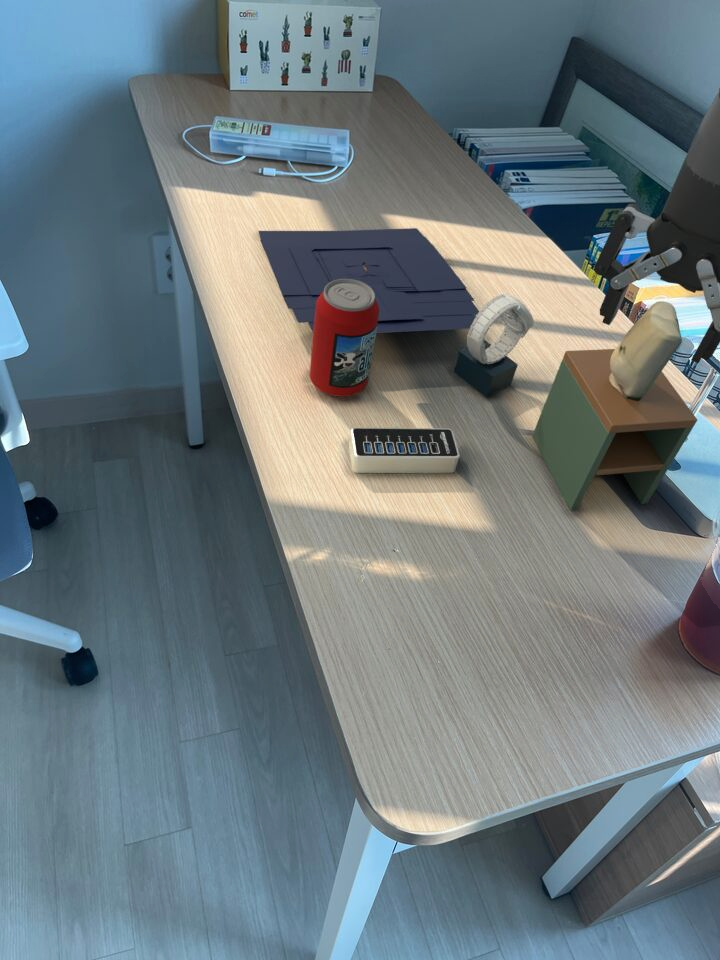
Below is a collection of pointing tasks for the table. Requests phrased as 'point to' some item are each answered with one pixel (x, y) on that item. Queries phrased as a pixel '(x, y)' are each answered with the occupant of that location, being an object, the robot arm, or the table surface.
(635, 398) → the beige rounded block
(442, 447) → the multiport hub
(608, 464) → the shelf
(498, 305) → the watch
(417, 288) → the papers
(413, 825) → the table surface
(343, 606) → the table surface
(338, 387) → the beverage can
